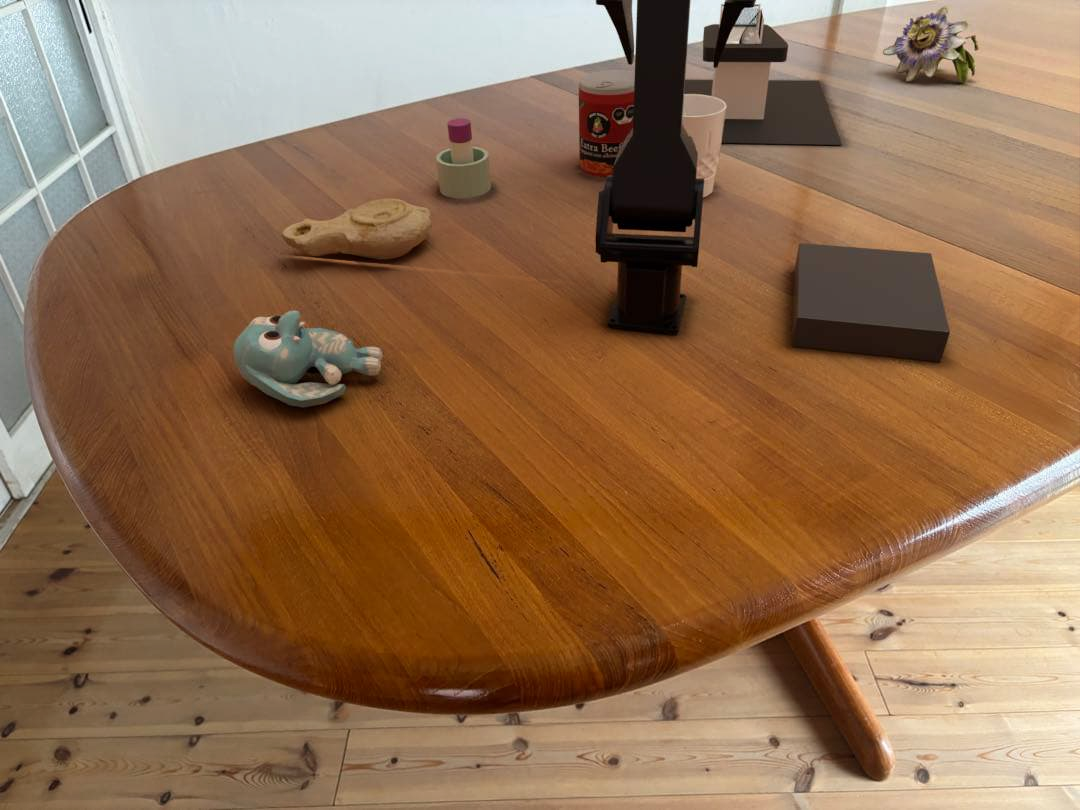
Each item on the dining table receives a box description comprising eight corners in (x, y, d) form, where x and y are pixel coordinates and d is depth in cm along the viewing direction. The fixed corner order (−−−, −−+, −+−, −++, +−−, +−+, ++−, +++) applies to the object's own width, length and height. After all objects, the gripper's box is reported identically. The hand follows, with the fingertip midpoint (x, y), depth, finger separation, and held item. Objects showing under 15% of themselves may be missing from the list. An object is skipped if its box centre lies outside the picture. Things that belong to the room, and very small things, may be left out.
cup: (482, 203, 97) (478, 167, 94) (433, 200, 98) (428, 164, 96) (497, 183, 102) (494, 147, 99) (450, 180, 103) (446, 145, 100)
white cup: (717, 204, 94) (725, 117, 88) (648, 201, 96) (652, 115, 90) (719, 178, 100) (727, 94, 94) (654, 175, 102) (658, 93, 96)
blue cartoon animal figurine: (377, 356, 62) (213, 342, 61) (374, 429, 67) (221, 418, 65) (388, 287, 71) (244, 273, 69) (385, 355, 75) (249, 343, 73)
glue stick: (472, 193, 99) (466, 126, 94) (451, 191, 99) (443, 125, 94) (479, 184, 101) (473, 118, 96) (458, 182, 101) (451, 117, 96)
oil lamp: (283, 261, 87) (272, 217, 84) (397, 220, 94) (390, 178, 91) (332, 297, 81) (322, 251, 78) (450, 250, 88) (445, 206, 85)
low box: (940, 362, 68) (950, 331, 66) (791, 346, 71) (797, 317, 69) (923, 281, 79) (931, 252, 77) (794, 270, 82) (799, 242, 80)
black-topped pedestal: (842, 145, 107) (862, 37, 99) (640, 142, 111) (644, 37, 103) (818, 81, 129) (834, -12, 121) (651, 80, 133) (655, -11, 125)
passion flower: (903, 116, 131) (868, 48, 127) (931, 86, 136) (899, 20, 132) (971, 87, 121) (936, 13, 118) (999, 55, 126) (966, -16, 123)
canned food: (569, 175, 103) (567, 85, 96) (595, 153, 108) (596, 66, 102) (625, 184, 100) (628, 92, 93) (650, 161, 105) (654, 72, 99)
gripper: (785, -114, 83) (765, 48, 93) (605, -111, 88) (604, 43, 97) (779, -100, 75) (758, 77, 84) (581, -98, 79) (582, 70, 89)
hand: (672, 65), depth 89 cm, fingers open, 9 cm apart
